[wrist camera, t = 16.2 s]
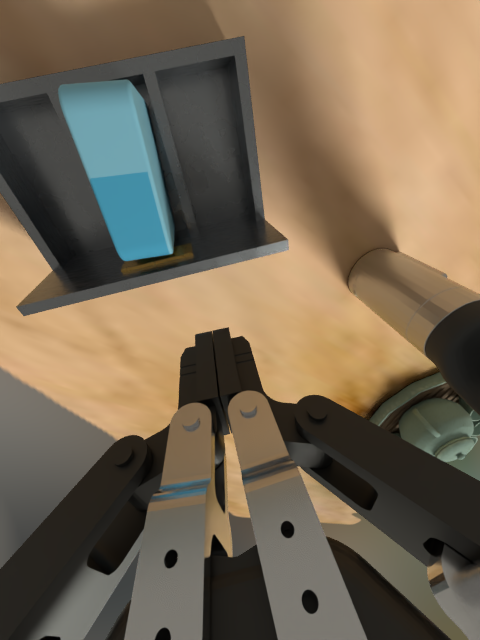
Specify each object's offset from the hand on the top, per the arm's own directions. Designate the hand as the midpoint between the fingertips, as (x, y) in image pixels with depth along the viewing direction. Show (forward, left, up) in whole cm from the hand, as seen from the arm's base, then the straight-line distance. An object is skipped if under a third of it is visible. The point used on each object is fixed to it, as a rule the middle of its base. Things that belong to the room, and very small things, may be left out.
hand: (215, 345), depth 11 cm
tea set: (-53, +71, -28) cm, 92 cm away
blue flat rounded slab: (+4, -6, -26) cm, 27 cm away
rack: (+4, -6, -27) cm, 28 cm away
